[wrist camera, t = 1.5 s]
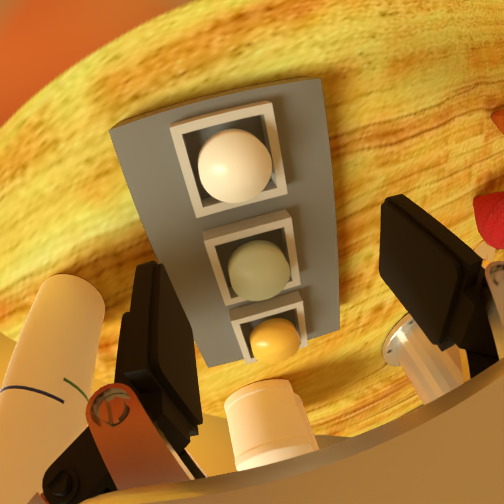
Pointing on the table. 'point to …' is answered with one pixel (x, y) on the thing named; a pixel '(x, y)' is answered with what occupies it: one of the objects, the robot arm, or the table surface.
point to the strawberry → (490, 218)
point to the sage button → (258, 270)
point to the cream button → (234, 165)
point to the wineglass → (485, 253)
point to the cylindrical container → (48, 383)
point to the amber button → (274, 340)
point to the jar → (268, 424)
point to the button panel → (239, 210)
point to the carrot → (498, 119)
